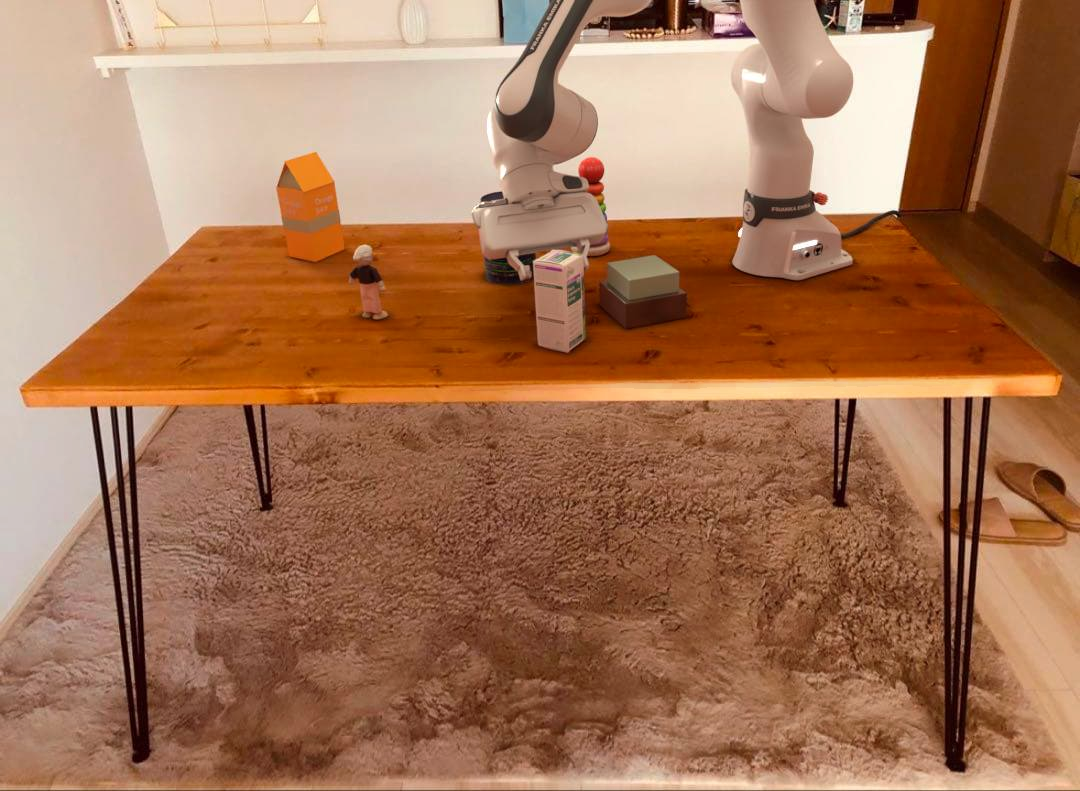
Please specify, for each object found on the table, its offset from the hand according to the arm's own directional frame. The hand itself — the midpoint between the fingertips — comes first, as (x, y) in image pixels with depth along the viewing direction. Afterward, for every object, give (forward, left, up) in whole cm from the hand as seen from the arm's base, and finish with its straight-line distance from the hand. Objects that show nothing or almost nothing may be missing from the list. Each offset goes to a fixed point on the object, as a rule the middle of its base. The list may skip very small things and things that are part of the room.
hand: (555, 273), depth 131 cm
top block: (-17, -4, -7) cm, 19 cm away
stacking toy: (-21, -36, -11) cm, 44 cm away
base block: (-17, -4, -11) cm, 21 cm away
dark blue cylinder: (-2, -30, -11) cm, 33 cm away
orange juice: (+31, -60, -11) cm, 69 cm away
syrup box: (0, +2, -11) cm, 11 cm away
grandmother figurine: (+26, -22, -11) cm, 36 cm away
